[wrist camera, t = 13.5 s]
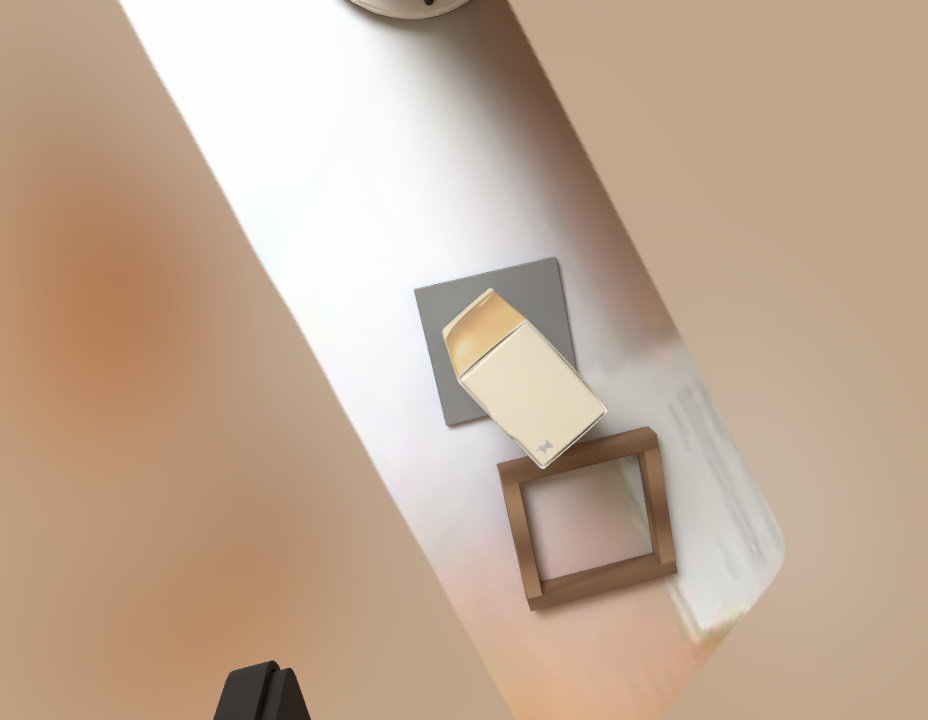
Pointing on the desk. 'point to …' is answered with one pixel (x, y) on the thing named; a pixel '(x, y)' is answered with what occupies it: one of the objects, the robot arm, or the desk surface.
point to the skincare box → (520, 378)
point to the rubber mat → (523, 289)
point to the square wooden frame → (605, 575)
